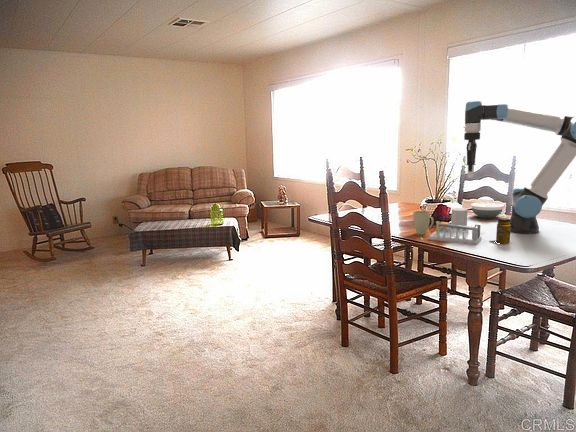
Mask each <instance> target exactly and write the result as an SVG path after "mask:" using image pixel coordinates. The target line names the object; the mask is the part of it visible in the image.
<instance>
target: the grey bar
mask: <svg viewBox="0 0 576 432" xmlns="http://www.w3.org/2000/svg"><path fill="white" fill-rule="evenodd" d="M439 226H440V227H445V228H447V227H449V228H450V229H451V228H458V229H467V230H469V231H472V227H478V230H479V229H480V230H481V226H480V227H479V226H475V225H474V226H472V225H471V226H470V225H467V226H464V225H455V224H451V223H450V222H445V221H440V224H439Z"/></svg>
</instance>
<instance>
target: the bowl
mask: <svg viewBox="0 0 576 432" xmlns="http://www.w3.org/2000/svg"><path fill="white" fill-rule="evenodd" d="M470 205H471V210H472V212H473V213H474V215H476V216H477V217H478V218H480V219H489V220H491V219H494V218H496V217H498V216H500V215H501V214H502V212H503V208H504V207H505V205H504V204H503V203H500V202H499V203H498V202H493V201H492V202H490V201H485V202H484V201H482V202H481V201H479V202H478V201H477V202H472V203H471V204H470Z"/></svg>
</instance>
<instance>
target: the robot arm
mask: <svg viewBox="0 0 576 432" xmlns="http://www.w3.org/2000/svg"><path fill="white" fill-rule="evenodd" d="M484 120H487V121H489V120H491V121H497V122H503V123H507V124H512V125H518V126H523V127H527V128H532V129H538V130H542V131H547V132H553V133H555V135H557V136H560V141H561V142H560V144H559V145H558V147H557V148H556V149H555V150H554V152H553V153H552V154H551V156H550V157H549V159H548V160H547V161H546V162H545V164H544V165H543V167H542V168H541V170H540V171H539V173H538V174H537V175H536V177H535V178H534V179H533V181H531V183H530V184H529V185H525V186H524V188H514V189H513V190H512V194H511V195H512V199H511V212H510V213H511V215H510V217H509V219H510V225H511V230H510V233H511V232H512V233H518V234H536V233H539V231H540V227H539V223H538V218H537V216H538V215H539V214H540V212H541V211H542V210H543V206H544V204H545V203H546V202H547V200H548V199H549V196H548V193H550V191H551V189H552V188H553V187H554V186H555V184H556V183H557V182H558V181H559V179H560V177H561V176H562V175H563V174H564V172H565V171H566V170H567V168H569V166H570V164H571V163H572V162H573V160H574V159H575V158H576V116H568V115H567V116H566V115H562V116H561V117H560V116H556V115H550V114H544V113H539V112H533V111H531V110H523V109H518V108H513V107H508V104H507V103H502V102H501V103H494V104H491V103H490V104H483V103H482V101H481V100H473V101H467V102H466V103H465V110H464V126H463V128H464V135H463V136H464V137H463V139H464V141H468V142H467V144H466V166H467V178H469V179H473V178H474V173H475V172H474V171H475V166H476V165H477V163H476V155H477V154H476V153H477V146H478V145H477V141H478V140H480V139H481V132H480V131H481V130H482V129H481V126H482V125H481V124H482V122H481V121H484ZM476 140H477V141H476Z"/></svg>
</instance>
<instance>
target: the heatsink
mask: <svg viewBox="0 0 576 432" xmlns="http://www.w3.org/2000/svg"><path fill="white" fill-rule="evenodd" d="M440 223H441V221H435V225H436V228H435V229H436V230H435V231H433V233H431V234H429V235H428V240H431V241H437V242H438V241H439V242H447V243H458V244H468V245H478V244H479V243H480V241H481V240H482V238H483V236H482V234H481V224H476V223H475V224H474V226H473V227H472V230H471V232H472V233H469V231H470V230H467V229H465V230H464V231H463V232H462V229H458V230H457V231H456V228H452V229H451V228H449V227H441V226H439V224H440ZM475 226H479V227H480V229H479V230H478V227H475Z"/></svg>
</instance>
